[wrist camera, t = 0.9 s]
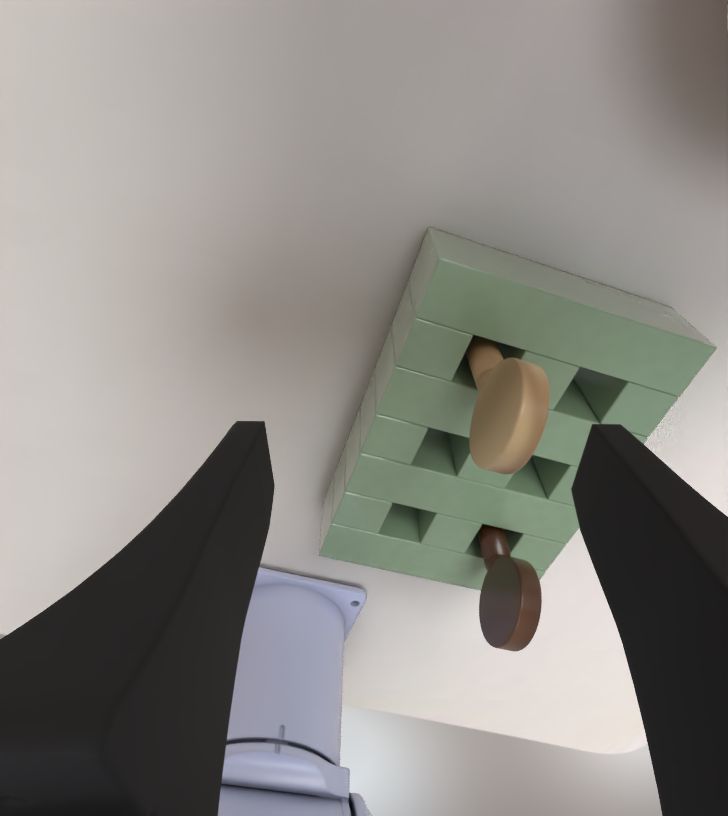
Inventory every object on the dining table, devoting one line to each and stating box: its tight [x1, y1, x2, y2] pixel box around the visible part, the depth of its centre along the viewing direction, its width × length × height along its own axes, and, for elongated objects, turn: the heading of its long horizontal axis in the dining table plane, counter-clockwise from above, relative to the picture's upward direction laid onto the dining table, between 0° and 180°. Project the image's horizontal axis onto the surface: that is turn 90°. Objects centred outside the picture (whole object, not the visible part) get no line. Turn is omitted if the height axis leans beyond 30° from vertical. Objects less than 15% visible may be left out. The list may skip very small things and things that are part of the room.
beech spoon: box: [466, 335, 550, 475], centre depth 19 cm, size 1×4×8 cm, turn 162°
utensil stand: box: [319, 227, 716, 590], centre depth 24 cm, size 15×11×4 cm
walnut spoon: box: [477, 524, 541, 651], centre depth 24 cm, size 1×4×8 cm, turn 162°
